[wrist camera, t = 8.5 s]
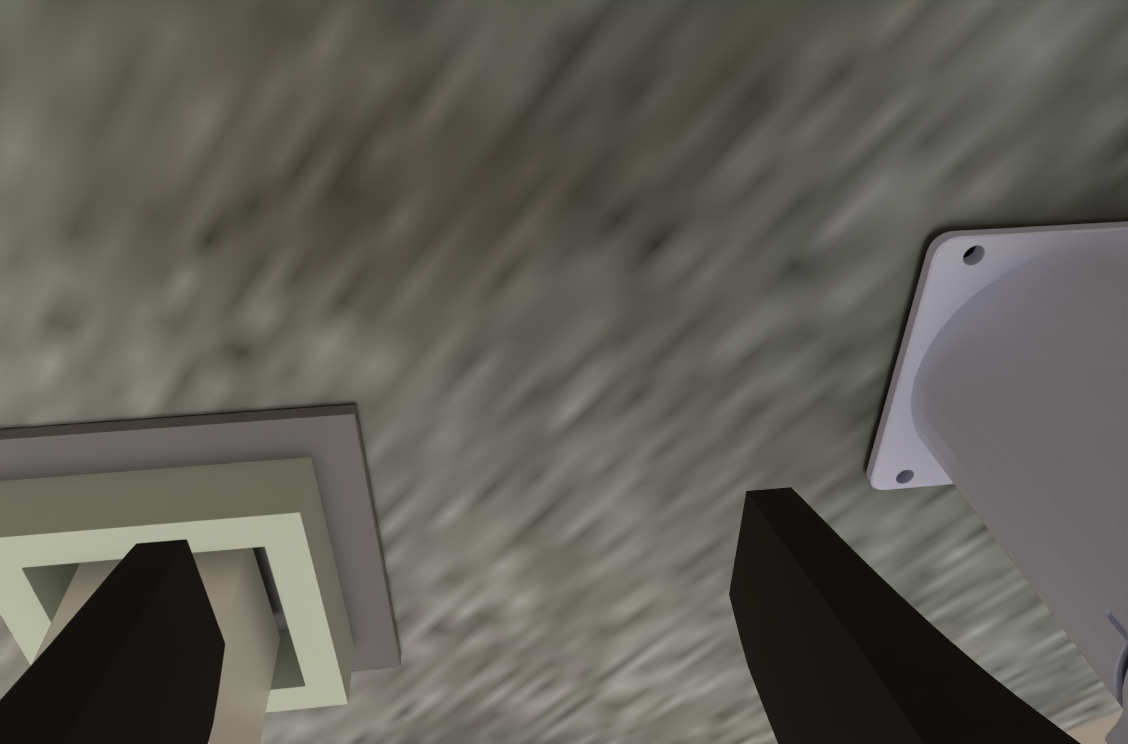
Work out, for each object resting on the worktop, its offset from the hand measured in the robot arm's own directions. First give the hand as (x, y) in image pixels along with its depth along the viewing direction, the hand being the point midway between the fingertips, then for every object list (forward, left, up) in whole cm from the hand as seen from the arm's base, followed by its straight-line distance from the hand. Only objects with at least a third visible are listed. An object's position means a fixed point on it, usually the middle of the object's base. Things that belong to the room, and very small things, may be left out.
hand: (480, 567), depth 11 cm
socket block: (+8, +9, -9) cm, 15 cm away
